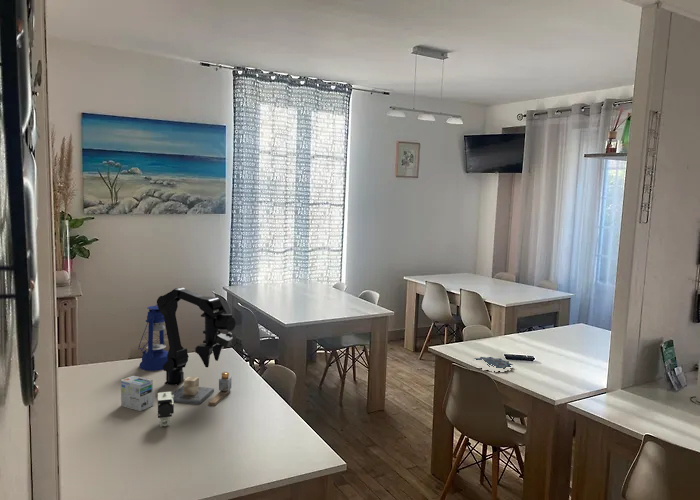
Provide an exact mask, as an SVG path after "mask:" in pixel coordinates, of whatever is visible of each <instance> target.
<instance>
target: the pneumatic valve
mask: <svg viewBox="0 0 700 500" xmlns="http://www.w3.org/2000/svg"><path fill="white" fill-rule="evenodd" d="M171 394H172V390H167V391H158V392H157V418H158V419H159V427H160V428H162V427H169V426H170V425H171V423H170V422H171V421H170V419H171V417H173V415H174V414H175V411H174V407H175V405H174V403H175V402H173V398H174V395H171Z"/></svg>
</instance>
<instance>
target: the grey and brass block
mask: <svg viewBox="0 0 700 500" xmlns="http://www.w3.org/2000/svg"><path fill="white" fill-rule="evenodd" d="M232 379H233V378H232V376H230V372H228V371H223V372H221V377H219V379H218V391H219V392H220V391H229V390H230V391H231V389H232Z"/></svg>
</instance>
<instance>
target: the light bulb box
mask: <svg viewBox="0 0 700 500" xmlns="http://www.w3.org/2000/svg"><path fill="white" fill-rule="evenodd" d="M153 385H154V382H153V379H151V378H150V379H149V378H146V377H141V376H138V375H137V376H136V375H132V376H128V377H126V378H122V379H120V406H121V407H124V408H127V409H131V410H135V411H139V412H141V411H143V410H144V411H145V410H146V409H148V408H150V407H152V406H154V390H153V389H154V388H153Z"/></svg>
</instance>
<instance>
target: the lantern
mask: <svg viewBox="0 0 700 500" xmlns="http://www.w3.org/2000/svg"><path fill="white" fill-rule="evenodd" d="M147 310H148V311H147V315H146V320H145V323H146V325H145V328H144V331H143V333H142V336H141V339H140V342H139V344H138V348H139V350H140V352H141V353H142V355H141V362H140V363H139V369H140V370H142V371H146V372H147V371H148V372H156V371H157V372H159V371H164V370H163V365H164V364H165V363H166V362H167V361H168V360H167V354H168V351H169V350H164V349H165V348H166V347H167V345H166V344H165V336H167V333H165V330H166V326H165V325H164V324H165V320H164V316H163V315H162V313H161V312H160V311H159V309H158V306H157V304H155V305H150V306H148V307H147ZM146 330H147V332H146ZM158 331H159V335H158V334H156V333H154V332H158ZM147 333H148V334H147ZM145 335H147V337H146V336H145ZM154 335H155V336H157V337H159V338H157V339H156V340H154ZM143 337H144V338H145V339H146V340H147V343H146V344H144V345H143V347H141V348H140V346H141V343H142V341H143ZM156 341H159V343H158V342H156ZM155 342H156V343H155ZM146 345H147V346H146ZM144 348H146V349H147V350H144Z"/></svg>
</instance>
